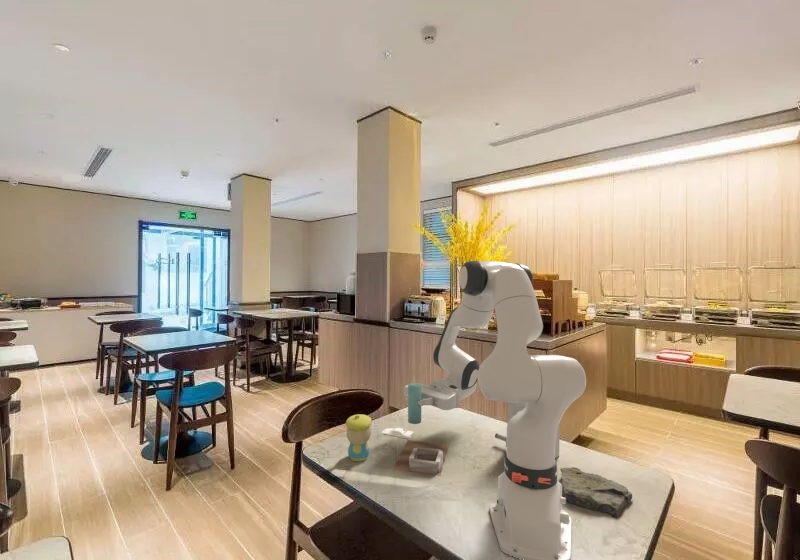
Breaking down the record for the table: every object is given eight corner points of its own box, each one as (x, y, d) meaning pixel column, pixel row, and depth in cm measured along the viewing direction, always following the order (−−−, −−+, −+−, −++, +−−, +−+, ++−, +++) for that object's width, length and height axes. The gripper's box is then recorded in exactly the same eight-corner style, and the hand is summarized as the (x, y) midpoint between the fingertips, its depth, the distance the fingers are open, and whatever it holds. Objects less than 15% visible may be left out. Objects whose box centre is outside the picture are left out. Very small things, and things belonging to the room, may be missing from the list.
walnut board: (440, 481, 106) (440, 465, 106) (392, 474, 109) (392, 458, 109) (448, 449, 125) (449, 435, 125) (408, 444, 129) (408, 431, 128)
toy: (373, 455, 120) (374, 409, 120) (368, 470, 111) (368, 420, 111) (349, 454, 121) (349, 408, 121) (342, 469, 112) (342, 419, 112)
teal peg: (419, 424, 121) (420, 387, 121) (406, 423, 122) (406, 386, 122) (422, 419, 125) (422, 383, 125) (409, 418, 126) (409, 382, 126)
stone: (633, 495, 100) (633, 482, 100) (625, 525, 88) (625, 510, 88) (562, 473, 111) (563, 461, 111) (547, 497, 99) (547, 484, 99)
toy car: (385, 432, 139) (385, 423, 139) (415, 438, 134) (415, 428, 134) (378, 438, 134) (378, 428, 134) (409, 444, 129) (409, 434, 129)
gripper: (420, 377, 140) (392, 384, 131) (463, 389, 125) (435, 398, 115) (420, 394, 140) (392, 402, 131) (463, 408, 125) (435, 419, 115)
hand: (412, 400), depth 123 cm, fingers closed on teal peg, 4 cm apart
